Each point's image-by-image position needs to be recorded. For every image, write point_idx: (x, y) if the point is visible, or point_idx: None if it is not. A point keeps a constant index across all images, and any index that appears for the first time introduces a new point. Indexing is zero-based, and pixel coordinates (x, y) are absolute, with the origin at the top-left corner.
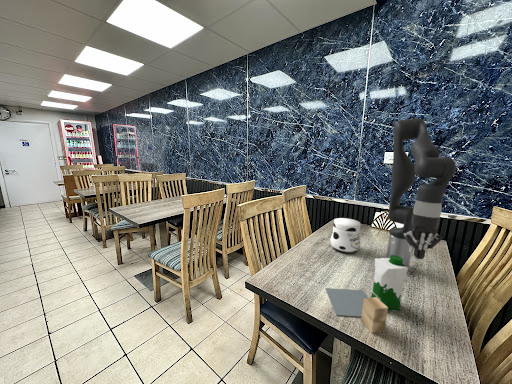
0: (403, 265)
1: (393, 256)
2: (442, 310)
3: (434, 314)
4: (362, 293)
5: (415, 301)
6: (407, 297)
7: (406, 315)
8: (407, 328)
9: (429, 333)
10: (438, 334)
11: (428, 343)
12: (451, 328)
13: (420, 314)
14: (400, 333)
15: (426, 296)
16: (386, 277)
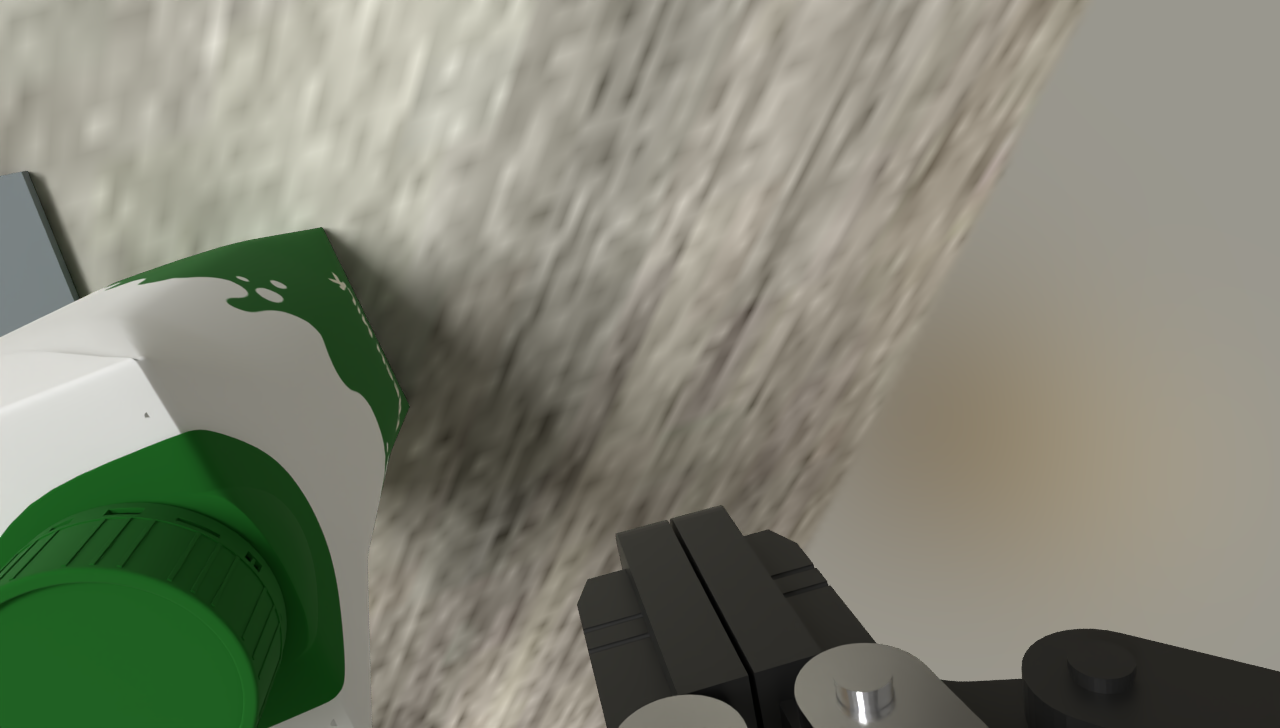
0: (293, 700)
1: (31, 634)
2: (834, 260)
3: (725, 348)
4: (10, 249)
5: (635, 189)
6: (576, 136)
7: (452, 453)
8: (401, 614)
9: (562, 603)
10: None
11: (507, 705)
12: (769, 484)
13: (593, 393)
14: None
15: (803, 47)
16: None
